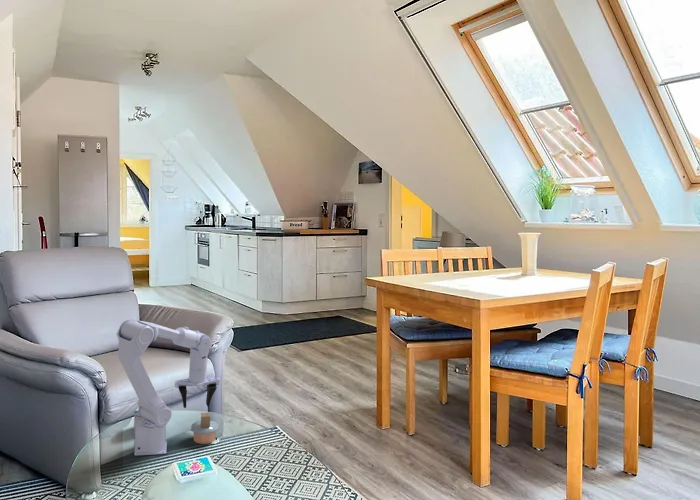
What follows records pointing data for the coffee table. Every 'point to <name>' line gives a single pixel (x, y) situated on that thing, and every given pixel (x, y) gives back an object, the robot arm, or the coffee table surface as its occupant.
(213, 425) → the lid
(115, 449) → the coffee table surface
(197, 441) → the bowl
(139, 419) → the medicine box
